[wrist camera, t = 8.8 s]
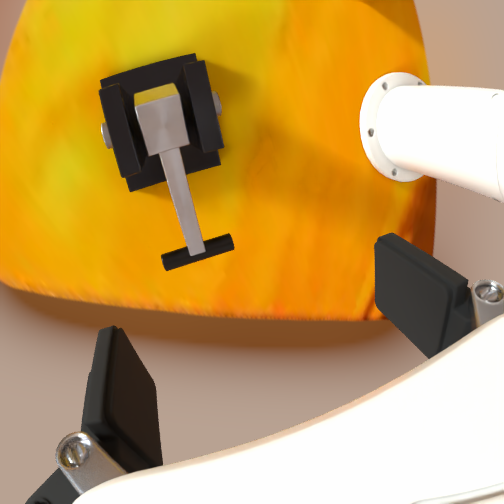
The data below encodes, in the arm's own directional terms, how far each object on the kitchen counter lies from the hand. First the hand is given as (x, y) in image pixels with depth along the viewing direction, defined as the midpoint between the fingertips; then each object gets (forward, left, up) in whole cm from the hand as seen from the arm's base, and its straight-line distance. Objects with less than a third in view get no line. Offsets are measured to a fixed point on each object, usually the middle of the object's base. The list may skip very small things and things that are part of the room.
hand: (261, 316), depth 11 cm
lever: (+1, -3, -11) cm, 11 cm away
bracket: (+1, -7, -19) cm, 20 cm away
